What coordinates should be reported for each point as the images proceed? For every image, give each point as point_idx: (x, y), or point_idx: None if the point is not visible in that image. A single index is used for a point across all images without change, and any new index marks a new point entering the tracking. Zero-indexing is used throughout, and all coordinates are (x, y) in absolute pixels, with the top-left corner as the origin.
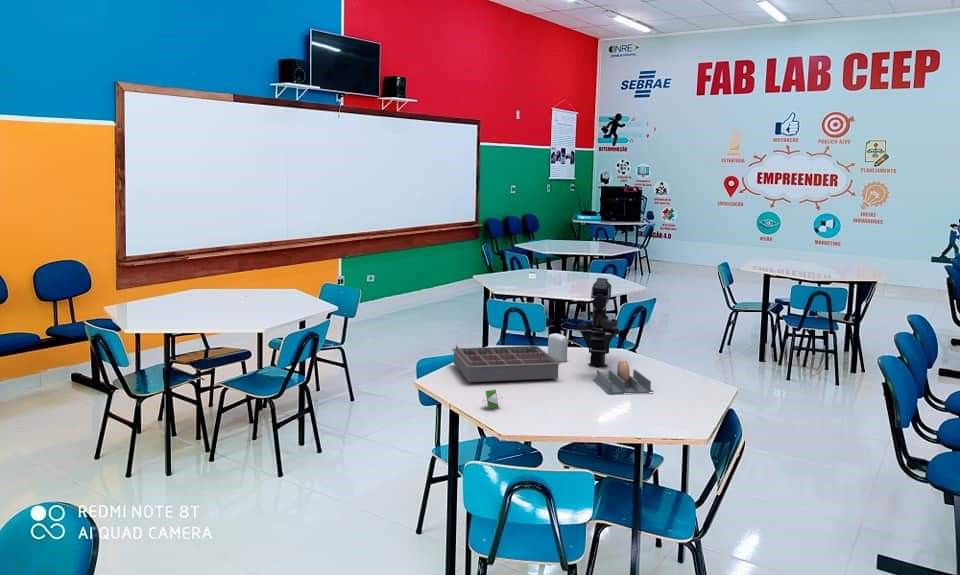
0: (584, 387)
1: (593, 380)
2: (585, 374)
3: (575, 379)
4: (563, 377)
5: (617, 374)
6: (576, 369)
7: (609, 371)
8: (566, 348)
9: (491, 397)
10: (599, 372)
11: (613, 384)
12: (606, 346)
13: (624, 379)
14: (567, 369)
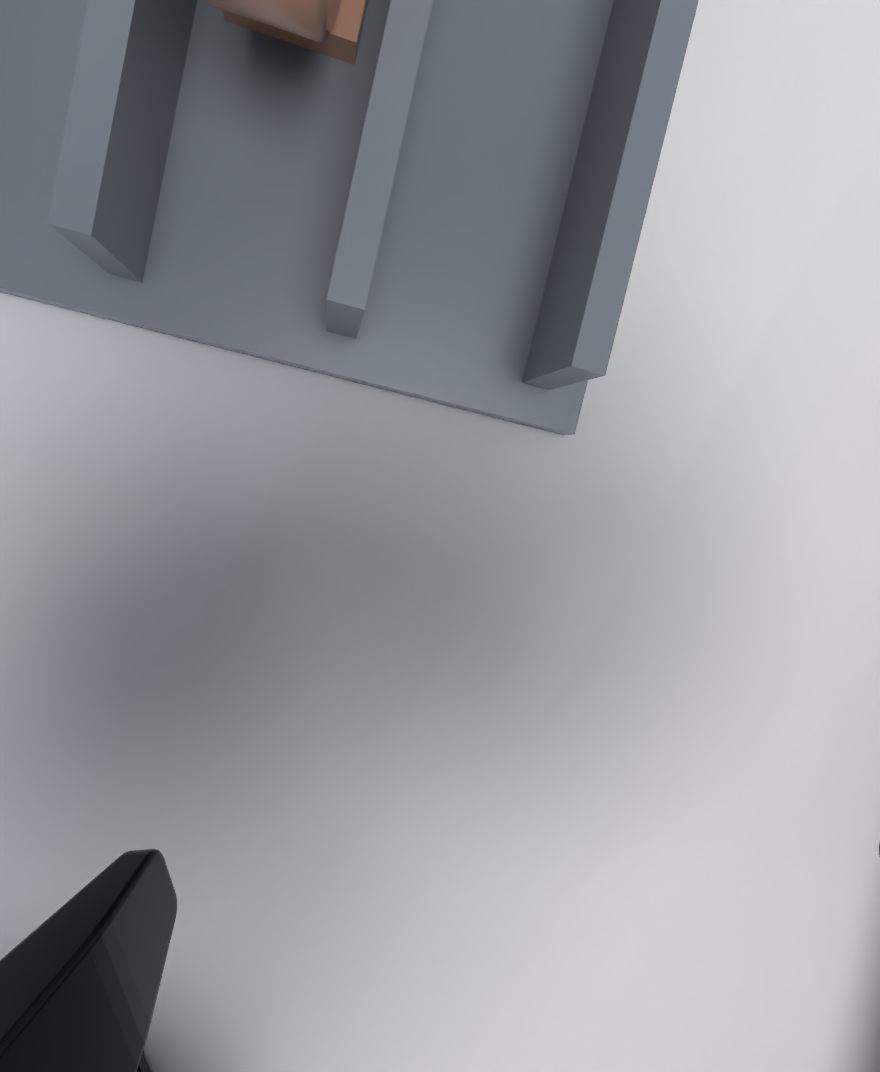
0: (849, 167)
1: (573, 410)
2: (497, 756)
3: (755, 561)
4: (845, 690)
5: (324, 29)
6: (484, 1017)
7: (372, 273)
8: None
9: None
10: (643, 201)
11: (443, 29)
12: (95, 960)
13: None
14: (601, 1036)
